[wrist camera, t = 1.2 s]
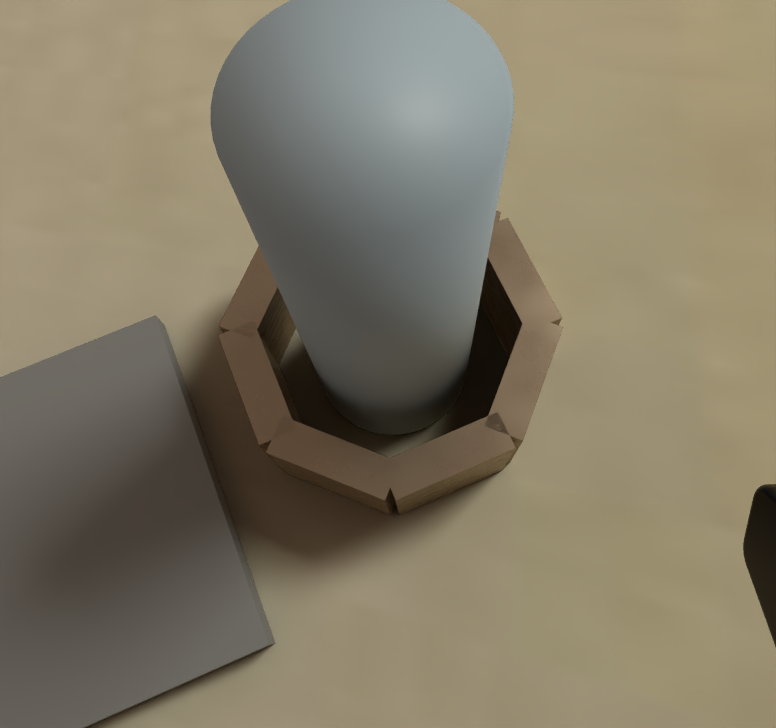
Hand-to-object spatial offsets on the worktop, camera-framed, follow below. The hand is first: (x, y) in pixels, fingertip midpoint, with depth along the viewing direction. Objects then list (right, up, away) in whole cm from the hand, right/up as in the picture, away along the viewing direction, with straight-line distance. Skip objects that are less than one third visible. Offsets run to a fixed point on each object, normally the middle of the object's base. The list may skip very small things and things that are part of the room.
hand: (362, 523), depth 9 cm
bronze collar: (0, +2, +13) cm, 14 cm away
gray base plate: (-9, -3, +12) cm, 16 cm away
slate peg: (0, +2, +13) cm, 14 cm away
